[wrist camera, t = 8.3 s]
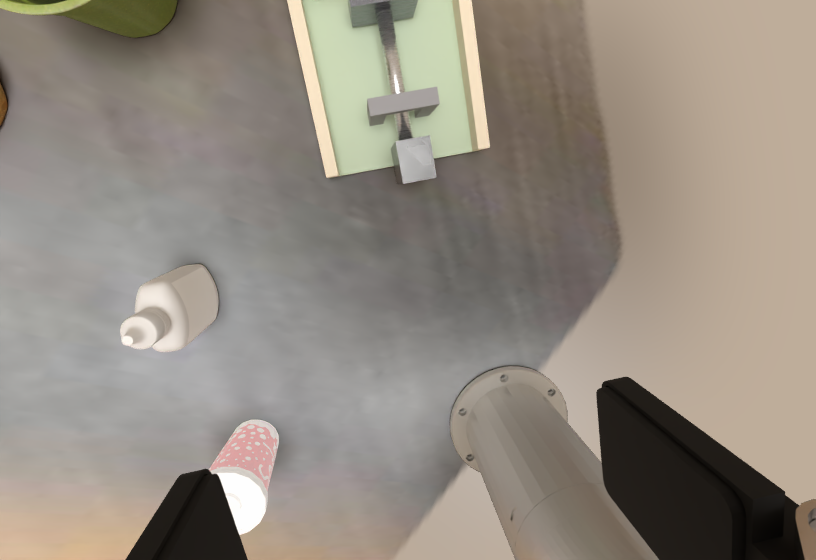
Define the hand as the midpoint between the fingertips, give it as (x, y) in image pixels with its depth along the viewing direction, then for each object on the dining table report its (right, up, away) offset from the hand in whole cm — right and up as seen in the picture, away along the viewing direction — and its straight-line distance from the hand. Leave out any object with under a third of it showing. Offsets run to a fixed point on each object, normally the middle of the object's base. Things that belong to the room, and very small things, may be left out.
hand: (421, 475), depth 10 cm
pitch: (-2, +25, +25) cm, 35 cm away
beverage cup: (-16, -12, +33) cm, 38 cm away
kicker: (-1, +20, +25) cm, 32 cm away
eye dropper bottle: (-20, +4, +29) cm, 35 cm away
